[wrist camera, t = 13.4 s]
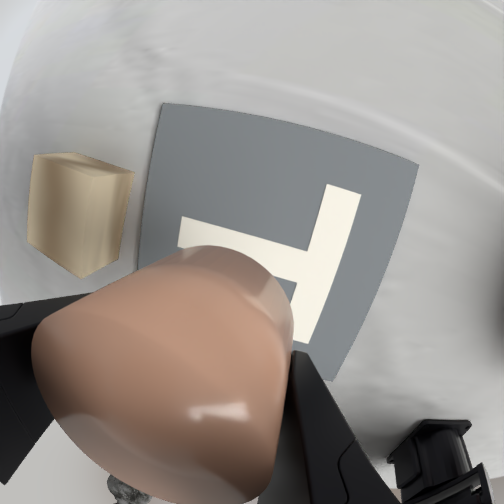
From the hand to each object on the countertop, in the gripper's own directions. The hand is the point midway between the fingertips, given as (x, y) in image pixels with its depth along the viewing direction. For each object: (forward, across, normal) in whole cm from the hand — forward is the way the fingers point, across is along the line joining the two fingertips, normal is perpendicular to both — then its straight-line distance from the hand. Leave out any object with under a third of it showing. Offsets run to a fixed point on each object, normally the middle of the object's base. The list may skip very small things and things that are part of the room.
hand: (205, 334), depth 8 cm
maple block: (+8, +12, 0) cm, 14 cm away
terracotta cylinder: (+1, 0, 0) cm, 1 cm away
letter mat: (+8, 0, 0) cm, 8 cm away
